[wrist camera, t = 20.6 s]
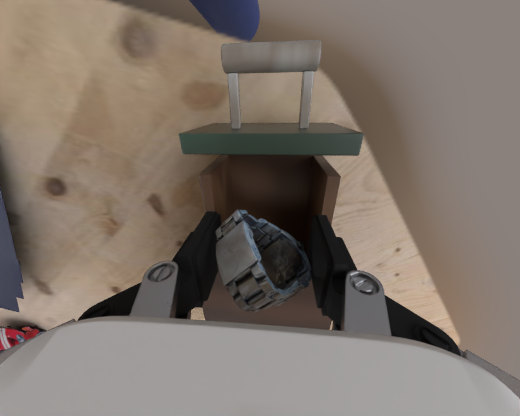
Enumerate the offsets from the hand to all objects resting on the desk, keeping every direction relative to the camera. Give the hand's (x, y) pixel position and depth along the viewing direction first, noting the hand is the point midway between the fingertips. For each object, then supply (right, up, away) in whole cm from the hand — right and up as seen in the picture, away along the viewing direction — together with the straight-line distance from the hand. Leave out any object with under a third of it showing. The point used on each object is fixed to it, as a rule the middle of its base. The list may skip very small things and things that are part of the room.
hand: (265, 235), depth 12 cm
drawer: (+1, +5, +7) cm, 9 cm away
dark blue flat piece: (-42, +3, +13) cm, 44 cm away
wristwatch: (0, 0, 0) cm, 0 cm away
